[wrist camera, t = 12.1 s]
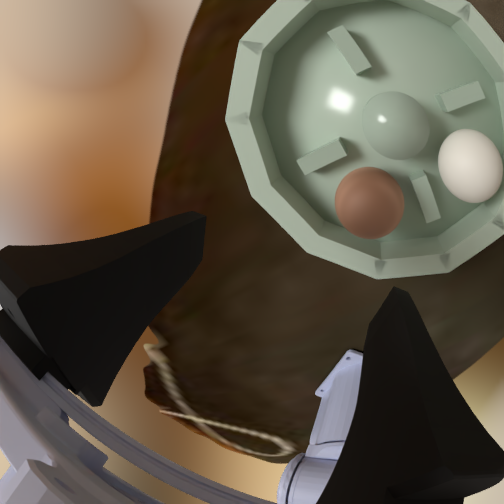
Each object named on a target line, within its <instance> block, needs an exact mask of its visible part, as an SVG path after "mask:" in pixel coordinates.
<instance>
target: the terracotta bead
mask: <svg viewBox="0 0 504 504" xmlns="http://www.w3.org/2000/svg"><path fill="white" fill-rule="evenodd" d="M335 210H336V213H337V216H338V219H339V220H340V222H341V223H342V225H343V226H344V227H345V228H346V229H347V230H348V231H349V232H350V233H352V234H353V235H355V236H358V237H360V238H364V239H378V238H381V237H384V236H386V235H388V234H389V233H391V232H392V231H393V230H394V229H395V228H396V227H397V226H398V224H399V223H400V221H401V219H402V216H403V213H404V196H403V192H402V190H401V187H400V186H399V184H398V182H397V181H396V180H395V179H394V177H392V176H391V175H390V174H389V173H387V172H386V171H384V170H382V169H379V168H375V167H361V168H358V169H355V170H353V171H351V172H350V173H348V174H347V175H346V176H345V177H344V178H343V179H342V180H341V182H340V183H339V185H338V188H337V190H336V193H335Z"/></svg>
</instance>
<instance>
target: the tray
mask: <svg viewBox="0 0 504 504" xmlns="http://www.w3.org/2000/svg"><path fill="white" fill-rule="evenodd" d="M225 121H226V124H227V126H228V129H229V132H230V135H231V138H232V141H233V144H234V147H235V149H236V152H237V155H238V158H239V161H240V164H241V167H242V170H243V173H244V176H245V179H246V181H247V184H248V187H249V190H250V193H251V196H252V197H253V198H254V199H255V200H256V201H257V202H258V203H259V204H260V205H261V206H262V207H263V208H264V209H265V210H266V211H267V212H268V213H269V214H270V215H271V216H272V217H273V218H274V219H275V220H276V221H277V222H278V223H279V224H280V225H281V226H282V227H283V228H284V229H285V230H286V231H287V232H288V233H289V234H290V235H291V236H292V238H293V239H294V240H295V241H296V242H297V243H298V244H299V245H300V246H301V247H302V248H303V249H304V250H305V251H306V252H307V253H310V254H313V255H315V256H318V257H321V258H323V259H326V260H329V261H331V262H334V263H336V264H339V265H342V266H344V267H347V268H349V269H352V270H355V271H357V272H360V273H362V274H365V275H367V276H370V277H373V278H375V279H386V278H398V277H409V276H419V275H429V274H439V273H449V272H450V271H452V270H453V269H455V268H456V267H458V266H459V265H461V264H462V263H464V262H465V261H467V260H468V259H470V258H471V257H473V256H474V255H476V254H477V253H479V252H480V251H481V250H483V249H484V248H486V247H487V246H488V245H490V244H491V243H493V242H494V241H495V240H497V239H498V238H499V237H501V236H502V235H503V234H504V43H503V42H502V40H501V39H500V38H499V36H498V35H497V34H496V33H495V31H494V30H493V29H492V28H491V26H490V25H489V24H488V23H487V22H486V20H485V19H484V18H483V17H482V16H481V15H480V13H479V12H478V11H477V10H476V9H475V8H474V7H473V6H472V5H471V4H470V3H469V2H467V1H465V0H277V1H276V2H275V3H274V4H273V5H272V6H271V7H270V8H269V9H268V10H267V11H266V12H265V13H264V14H263V15H262V16H261V17H260V19H259V20H258V21H257V22H256V23H255V24H254V25H253V26H252V27H251V28H250V29H249V31H248V32H247V33H246V34H245V35H244V36H243V37H242V38H241V40H239V45H238V50H237V55H236V60H235V66H234V71H233V77H232V82H231V88H230V94H229V100H228V106H227V112H226V118H225ZM460 129H473V130H476V131H479V132H481V133H483V134H484V135H486V136H487V137H488V138H489V139H490V140H491V141H492V142H493V143H494V144H495V146H496V148H497V149H498V151H499V153H500V156H501V159H502V164H503V177H502V182H501V184H500V187H499V189H498V190H497V192H496V193H495V194H494V195H493V196H492V197H491V198H490V199H488V200H486V201H484V202H480V203H469V202H465V201H463V200H460V199H459V198H457V197H456V196H454V195H453V194H452V193H451V192H450V191H449V190H448V188H447V187H446V186H445V184H444V182H443V180H442V178H441V176H440V172H439V167H438V155H439V151H440V148H441V145H442V143H443V142H444V140H445V139H446V138H447V137H448V136H449V135H450V134H451V133H453V132H455V131H457V130H460ZM361 167H375V168H379V169H382V170H384V171H386V172H387V173H389V174H390V175H391V176H392V177H394V179H395V180H396V181H397V182H398V184H399V186H400V187H401V190H402V192H403V196H404V213H403V216H402V219H401V221H400V223H399V224H398V226H397V227H396V228H395V229H394V230H393V231H392V232H391V233H389V234H388V235H386V236H384V237H381V238H378V239H364V238H360V237H358V236H355V235H353V234H352V233H350V232H349V231H348V230H347V229H346V228H345V227H344V226H343V225H342V223H341V222H340V220H339V219H338V216H337V213H336V210H335V193H336V190H337V188H338V185H339V183H340V182H341V180H342V179H343V178H344V177H345V176H346V175H347V174H348V173H350V172H351V171H353V170H355V169H358V168H361Z"/></svg>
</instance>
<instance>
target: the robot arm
mask: <svg viewBox="0 0 504 504" xmlns="http://www.w3.org/2000/svg"><path fill="white" fill-rule="evenodd" d="M205 225H206V216H205V215H202V214H199V213H196V212H193V211H191V212H186V213H183V214H179V215H176V216H173V217H169V218H166V219H163V220H160V221H157V222H154V223H151V224H148V225H144V226H141V227H138V228H134V229H131V230H128V231H124V232H121V233H117V234H113V235H109V236H105V237H100V238H95V239H90V240H85V241H78V242H71V243H65V244H54V245H39V246H11V245H8V246H6V247H4V248H3V249H1V250H0V304H1V306H2V308H3V309H2V310H0V449H1V451H2V452H3V454H4V455H5V457H6V458H7V460H8V461H9V463H10V464H11V466H10V467H9V469H8V470H7V472H6V473H5V474H4V475H3V477H2V478H1V480H0V504H165V503H163V502H161V501H159V500H157V499H155V498H153V497H151V496H149V495H148V494H146V493H144V492H142V491H140V490H139V489H137V488H135V487H133V486H132V485H130V484H129V483H127V482H125V481H124V480H122V479H121V478H119V477H117V476H116V475H114V474H113V473H111V472H110V471H108V470H107V469H105V468H104V467H103V465H104V464H105V462H106V461H107V460H108V457H107V455H105V454H104V453H103V452H101V451H100V450H99V449H97V448H96V447H94V446H93V445H92V444H91V443H90V442H88V441H87V440H86V439H84V438H83V437H82V436H81V435H79V434H78V433H77V432H76V431H75V430H74V429H72V428H71V427H70V426H69V422H68V421H69V418H68V416H69V417H70V418H71V419H73V420H74V421H75V422H76V423H77V424H79V425H80V426H81V427H82V428H84V429H85V430H86V431H87V432H88V433H90V434H91V435H92V436H94V437H95V438H96V439H98V440H99V441H100V442H102V443H103V444H104V445H106V446H107V447H108V448H110V449H111V450H113V451H114V452H116V453H117V454H119V455H120V456H122V457H123V458H125V459H126V460H128V461H129V462H131V463H133V464H134V465H136V466H137V467H139V468H140V469H142V470H144V471H146V472H148V473H149V474H151V475H152V476H154V477H156V478H158V479H160V480H161V481H163V482H165V483H167V484H169V485H171V486H173V487H175V488H177V489H179V490H181V491H183V492H185V493H187V494H189V495H192V496H194V497H196V498H198V499H200V500H203V501H205V502H208V503H210V504H463V502H464V497H467V496H470V495H473V494H475V493H478V492H481V491H483V490H485V489H487V488H490V487H492V486H494V485H496V484H497V483H499V482H500V481H501V480H502V479H503V478H504V451H503V449H502V448H501V447H500V446H499V445H498V444H497V442H496V441H495V440H494V439H493V438H492V437H491V436H490V435H489V433H488V432H487V431H486V429H485V428H484V427H483V425H482V424H481V423H480V421H479V420H478V419H477V417H476V416H475V415H474V413H473V412H472V410H471V409H470V407H469V406H468V404H467V403H466V401H465V399H464V398H463V396H462V395H461V393H460V392H459V390H458V388H457V387H456V385H455V383H454V382H453V380H452V378H451V376H450V374H449V373H448V371H447V369H446V367H445V365H444V364H443V362H442V360H441V358H440V356H439V354H438V352H437V350H436V348H435V346H434V344H433V342H432V339H431V337H430V335H429V333H428V331H427V329H426V327H425V325H424V323H423V320H422V318H421V316H420V314H419V312H418V310H417V308H416V306H415V304H414V302H413V300H412V298H411V296H410V295H409V293H408V292H406V291H404V290H401V289H399V288H396V287H393V288H392V290H391V292H390V293H389V295H388V296H387V298H386V300H385V301H384V303H383V304H382V306H381V307H380V309H379V310H378V312H377V313H376V315H375V316H374V318H373V319H372V321H371V322H370V324H369V327H368V332H367V336H366V340H365V345H364V351H363V353H360V352H358V351H355V350H348V351H347V352H346V353H345V355H344V356H343V357H342V359H341V360H340V361H339V363H338V364H337V365H336V366H335V368H334V369H333V370H332V372H331V373H330V374H329V375H328V377H327V378H326V379H325V380H324V382H323V383H322V384H321V385H320V386H319V388H318V389H317V390H316V392H315V394H316V395H317V396H320V397H322V400H321V403H320V407H319V410H318V414H317V417H316V420H315V424H314V427H313V430H312V433H311V437H310V445H308V448H307V451H306V454H305V453H300V454H298V455H297V456H296V457H295V458H293V459H292V460H291V461H290V462H289V463H288V465H287V466H286V468H285V470H284V472H283V474H282V477H281V479H280V482H279V486H278V491H277V503H274V502H270V501H267V500H263V499H260V498H257V497H254V496H251V495H248V494H245V493H243V492H240V491H237V490H234V489H232V488H229V487H226V486H224V485H221V484H219V483H217V482H214V481H212V480H209V479H207V478H205V477H203V476H201V475H198V474H196V473H194V472H192V471H190V470H188V469H186V468H184V467H182V466H180V465H178V464H176V463H174V462H172V461H170V460H168V459H166V458H164V457H163V456H161V455H159V454H157V453H156V452H154V451H152V450H150V449H149V448H147V447H146V446H144V445H142V444H140V443H139V442H137V441H136V440H134V439H133V438H131V437H130V436H128V435H126V434H125V433H123V432H122V431H120V430H119V429H118V428H116V427H115V426H113V425H112V424H110V423H109V422H107V421H106V420H105V419H103V418H102V417H101V416H99V415H98V414H97V413H95V412H94V411H93V410H92V409H90V408H89V407H88V406H86V405H85V404H84V403H83V402H82V401H80V400H79V399H78V398H77V397H75V396H74V395H73V394H72V393H71V392H70V391H68V389H70V390H71V391H72V392H73V393H74V394H76V395H78V396H80V397H81V398H82V399H83V400H85V401H86V402H87V403H88V404H90V405H91V406H93V407H95V406H101V405H102V403H103V401H104V399H105V397H106V395H107V393H108V391H109V389H110V387H111V385H112V383H113V381H114V379H115V377H116V375H117V374H118V372H119V370H120V368H121V366H122V365H123V363H124V361H125V360H126V358H127V356H128V355H129V353H130V352H131V350H132V349H133V347H134V345H135V343H136V342H137V341H138V339H139V338H140V336H141V335H142V333H143V332H144V330H145V329H146V327H147V326H148V325H149V324H150V322H151V321H152V320H153V319H154V317H155V316H156V315H157V314H158V313H159V312H160V311H161V310H162V308H163V307H164V306H165V305H166V304H167V303H168V302H169V301H170V300H171V298H172V297H173V296H174V295H175V294H176V293H177V292H178V291H179V290H180V288H181V287H182V286H183V285H184V284H185V283H186V282H187V281H188V279H189V278H190V277H191V275H192V274H193V273H194V271H195V270H196V268H197V267H198V265H199V264H200V262H201V261H202V257H203V246H204V235H205ZM67 415H68V416H67Z"/></svg>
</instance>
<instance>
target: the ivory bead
mask: <svg viewBox="0 0 504 504" xmlns="http://www.w3.org/2000/svg"><path fill="white" fill-rule="evenodd" d="M438 167H439V172H440V176H441V178H442V180H443V182H444V184H445V186H446V187H447V188H448V190H449V191H450V192H451V193H452V194H453V195H454V196H456V197H457V198H459V199H460V200H463V201H465V202H469V203H480V202H484V201H486V200H488V199H490V198H491V197H492V196H493V195H494V194H495V193H496V192H497V190H498V189H499V187H500V184H501V182H502V177H503V164H502V159H501V156H500V153H499V151H498V149H497V148H496V146H495V144H494V143H493V142H492V141H491V140H490V139H489V138H488V137H487V136H486V135H484V134H483V133H481V132H479V131H476V130H473V129H460V130H457V131H455V132H453V133H451V134H450V135H449V136H448V137H447V138H446V139H445V140H444V142H443V143H442V145H441V148H440V151H439V155H438Z"/></svg>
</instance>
